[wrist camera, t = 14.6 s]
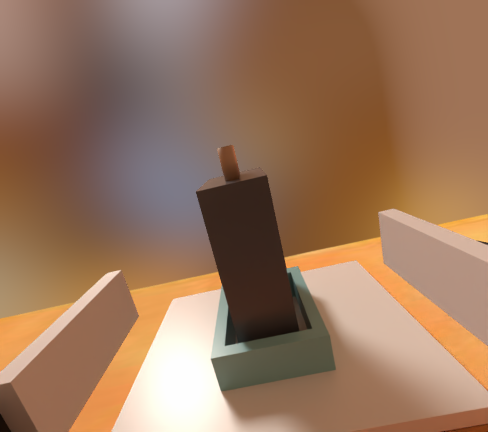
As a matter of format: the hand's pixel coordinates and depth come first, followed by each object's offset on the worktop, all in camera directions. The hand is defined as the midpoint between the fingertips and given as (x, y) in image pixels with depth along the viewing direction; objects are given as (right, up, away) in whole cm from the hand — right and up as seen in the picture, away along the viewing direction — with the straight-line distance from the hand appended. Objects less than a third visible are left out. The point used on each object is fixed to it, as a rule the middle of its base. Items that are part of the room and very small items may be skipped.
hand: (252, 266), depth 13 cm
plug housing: (+2, -6, +7) cm, 10 cm away
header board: (+2, -7, +7) cm, 11 cm away
